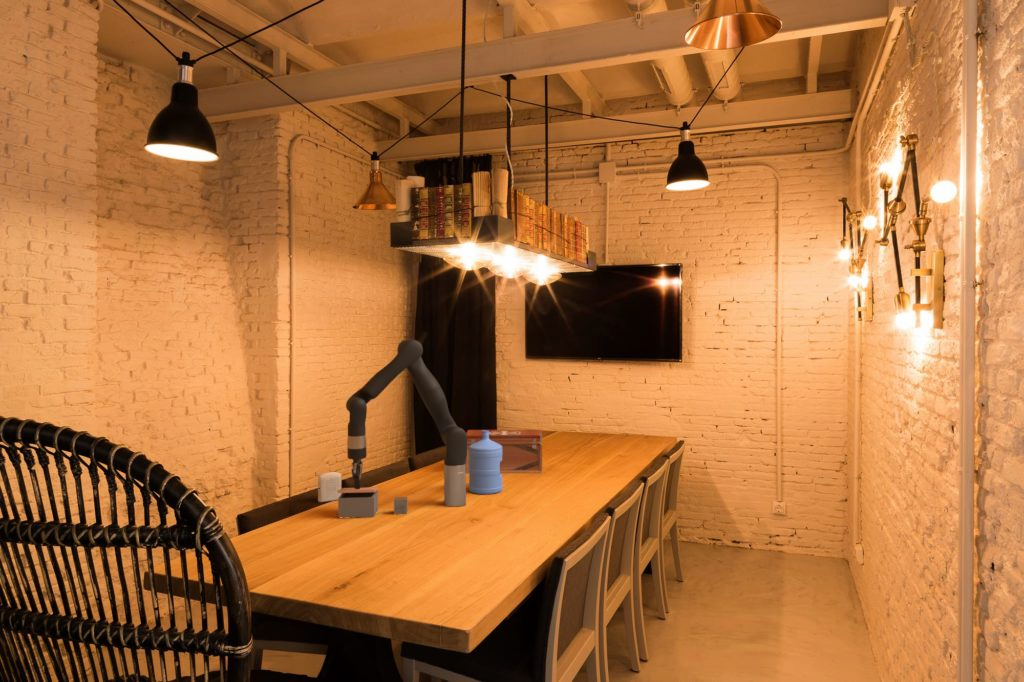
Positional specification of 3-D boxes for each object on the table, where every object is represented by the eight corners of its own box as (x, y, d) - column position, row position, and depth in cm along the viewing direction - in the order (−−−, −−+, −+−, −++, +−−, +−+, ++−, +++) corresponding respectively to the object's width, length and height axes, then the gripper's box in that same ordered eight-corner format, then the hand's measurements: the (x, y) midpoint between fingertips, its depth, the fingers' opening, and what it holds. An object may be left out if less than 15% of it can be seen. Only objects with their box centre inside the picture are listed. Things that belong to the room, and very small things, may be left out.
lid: (378, 489, 283) (378, 487, 284) (374, 492, 271) (374, 489, 271) (342, 490, 282) (342, 488, 283) (337, 493, 270) (337, 490, 270)
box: (377, 509, 284) (377, 490, 283) (374, 517, 272) (374, 497, 271) (343, 510, 283) (343, 491, 282) (338, 518, 271) (338, 498, 270)
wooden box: (543, 473, 354) (542, 435, 353) (464, 474, 354) (464, 435, 354) (541, 466, 374) (541, 429, 374) (467, 466, 375) (467, 429, 374)
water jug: (483, 496, 305) (483, 434, 304) (462, 490, 317) (461, 430, 316) (509, 491, 315) (509, 430, 315) (488, 485, 327) (487, 427, 327)
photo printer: (339, 497, 304) (339, 470, 304) (342, 499, 301) (342, 471, 301) (316, 501, 299) (316, 472, 299) (319, 503, 295) (319, 474, 295)
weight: (407, 511, 281) (407, 496, 281) (406, 514, 276) (406, 499, 276) (395, 511, 281) (395, 497, 281) (394, 514, 276) (393, 500, 276)
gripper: (363, 449, 269) (364, 492, 270) (368, 442, 282) (369, 484, 283) (344, 449, 269) (345, 493, 269) (350, 443, 282) (351, 484, 283)
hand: (357, 488), depth 276 cm, fingers closed
